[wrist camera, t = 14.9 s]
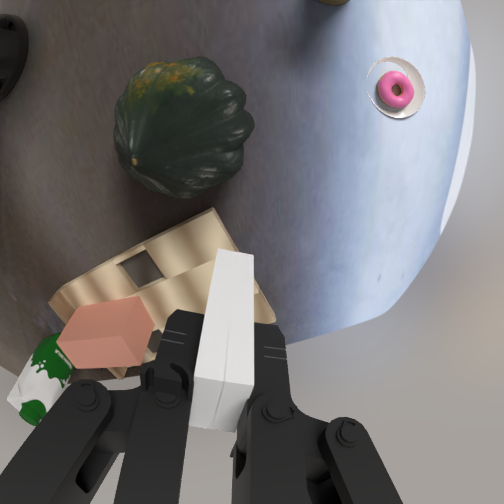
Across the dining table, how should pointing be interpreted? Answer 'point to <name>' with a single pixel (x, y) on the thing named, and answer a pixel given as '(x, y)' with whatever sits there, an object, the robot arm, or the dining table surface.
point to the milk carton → (41, 381)
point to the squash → (181, 127)
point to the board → (159, 277)
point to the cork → (333, 2)
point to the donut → (409, 85)
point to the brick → (107, 334)
